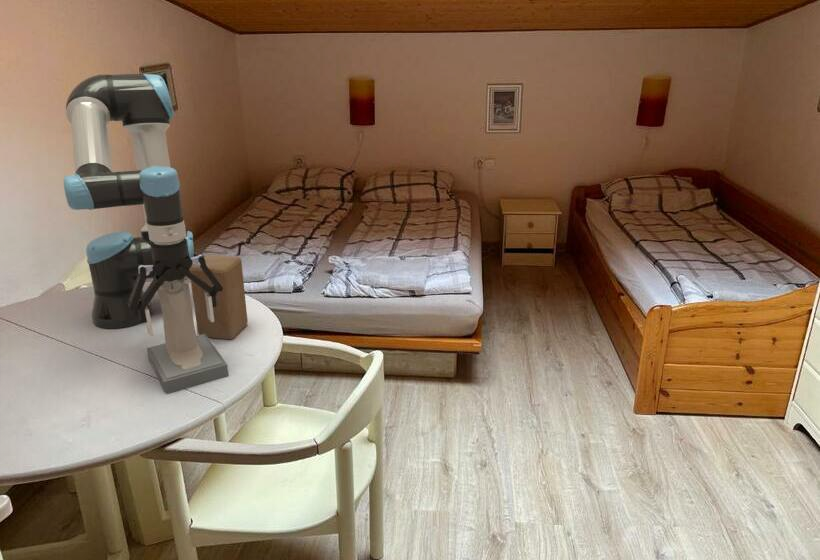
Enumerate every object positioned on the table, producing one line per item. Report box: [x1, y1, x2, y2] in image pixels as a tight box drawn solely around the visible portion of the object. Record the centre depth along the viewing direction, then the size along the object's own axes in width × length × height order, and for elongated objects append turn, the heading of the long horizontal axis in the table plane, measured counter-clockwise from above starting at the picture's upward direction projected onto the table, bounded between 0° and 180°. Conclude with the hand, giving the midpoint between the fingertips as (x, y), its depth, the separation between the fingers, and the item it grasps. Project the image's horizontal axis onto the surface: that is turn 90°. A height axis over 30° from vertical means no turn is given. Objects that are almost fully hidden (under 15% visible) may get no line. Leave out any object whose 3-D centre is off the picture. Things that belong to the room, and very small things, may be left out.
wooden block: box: [189, 254, 249, 340], centre depth 153 cm, size 10×10×20 cm
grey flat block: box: [146, 334, 229, 394], centre depth 139 cm, size 18×14×3 cm
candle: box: [156, 276, 203, 369], centre depth 135 cm, size 7×14×20 cm, turn 32°
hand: (181, 327), depth 136 cm, fingers open, 13 cm apart
